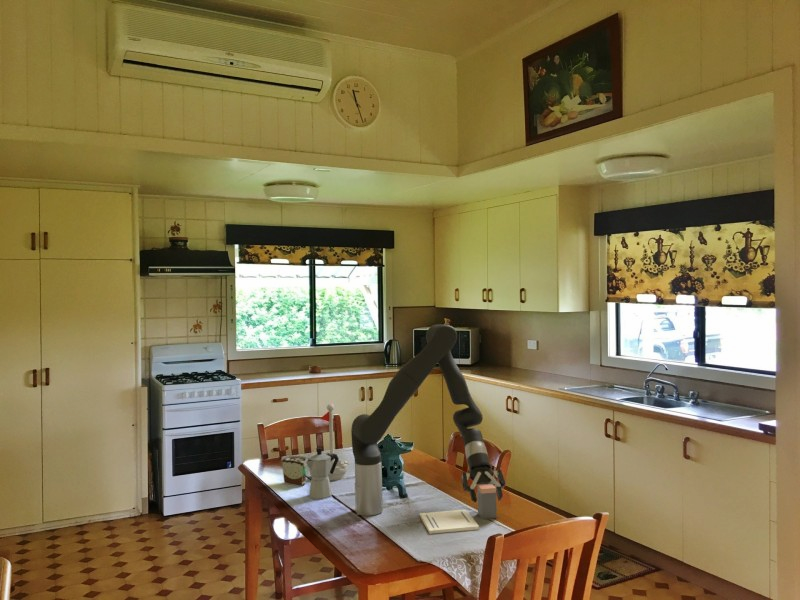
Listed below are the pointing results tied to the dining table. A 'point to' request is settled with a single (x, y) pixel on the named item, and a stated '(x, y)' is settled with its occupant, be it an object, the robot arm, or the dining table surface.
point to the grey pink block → (486, 501)
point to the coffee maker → (321, 474)
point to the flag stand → (340, 467)
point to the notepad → (448, 521)
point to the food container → (294, 470)
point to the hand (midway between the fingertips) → (487, 500)
